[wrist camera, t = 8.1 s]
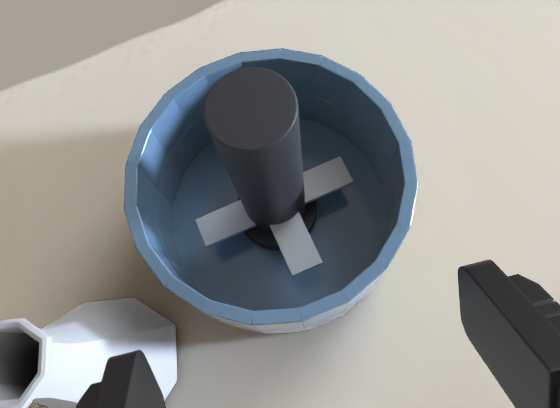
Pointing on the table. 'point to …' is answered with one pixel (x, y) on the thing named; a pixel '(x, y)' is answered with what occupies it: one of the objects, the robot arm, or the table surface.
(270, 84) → the chopping blade
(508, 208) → the table surface
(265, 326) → the processor bowl
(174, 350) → the flask
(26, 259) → the table surface
